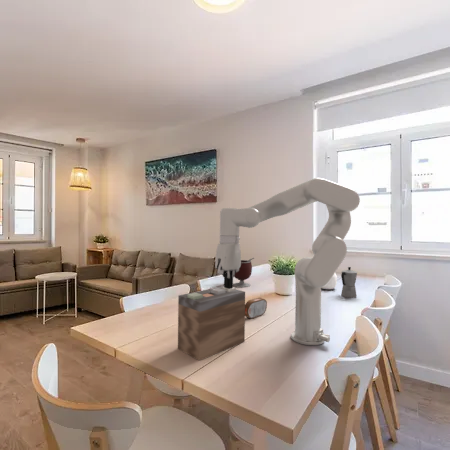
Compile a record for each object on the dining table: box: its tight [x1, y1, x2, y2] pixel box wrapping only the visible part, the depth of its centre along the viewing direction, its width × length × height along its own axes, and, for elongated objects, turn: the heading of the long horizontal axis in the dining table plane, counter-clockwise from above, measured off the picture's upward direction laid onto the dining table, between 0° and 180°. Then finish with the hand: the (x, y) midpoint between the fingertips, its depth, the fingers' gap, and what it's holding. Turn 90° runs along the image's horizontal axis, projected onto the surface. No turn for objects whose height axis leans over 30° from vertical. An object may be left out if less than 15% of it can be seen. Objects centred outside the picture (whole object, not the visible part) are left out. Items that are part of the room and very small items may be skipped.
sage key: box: [186, 292, 203, 300], centre depth 101 cm, size 4×4×2 cm
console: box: [177, 285, 246, 362], centre depth 107 cm, size 12×22×19 cm, turn 134°
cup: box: [321, 272, 338, 290], centre depth 201 cm, size 13×13×14 cm
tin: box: [245, 297, 268, 319], centre depth 140 cm, size 15×3×8 cm, turn 135°
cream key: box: [222, 286, 237, 292], centre depth 113 cm, size 4×4×2 cm
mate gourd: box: [233, 257, 255, 288], centre depth 206 cm, size 16×14×20 cm
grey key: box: [210, 287, 226, 294], centre depth 109 cm, size 4×4×2 cm
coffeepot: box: [340, 266, 358, 299], centre depth 180 cm, size 15×9×18 cm, turn 129°
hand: (228, 287), depth 113 cm, fingers closed
